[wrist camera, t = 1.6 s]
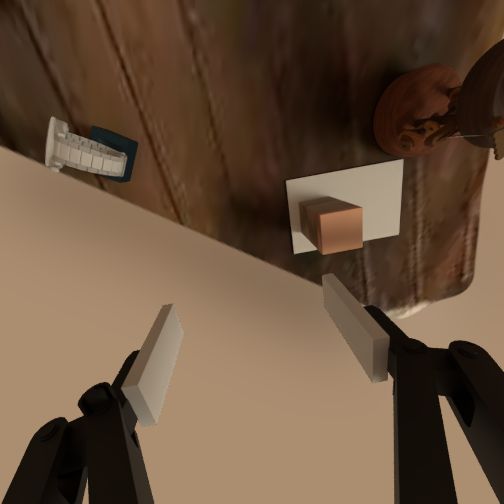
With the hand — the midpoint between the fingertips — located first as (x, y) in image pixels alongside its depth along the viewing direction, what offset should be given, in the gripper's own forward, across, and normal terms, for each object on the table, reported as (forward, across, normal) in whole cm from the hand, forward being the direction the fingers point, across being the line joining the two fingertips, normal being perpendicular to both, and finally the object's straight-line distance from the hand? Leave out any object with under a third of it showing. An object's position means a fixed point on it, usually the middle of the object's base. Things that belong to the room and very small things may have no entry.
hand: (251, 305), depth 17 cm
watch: (+22, -15, +14) cm, 30 cm away
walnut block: (+22, +12, 0) cm, 25 cm away
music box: (+22, +27, +12) cm, 37 cm away
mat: (+22, +17, 0) cm, 28 cm away
